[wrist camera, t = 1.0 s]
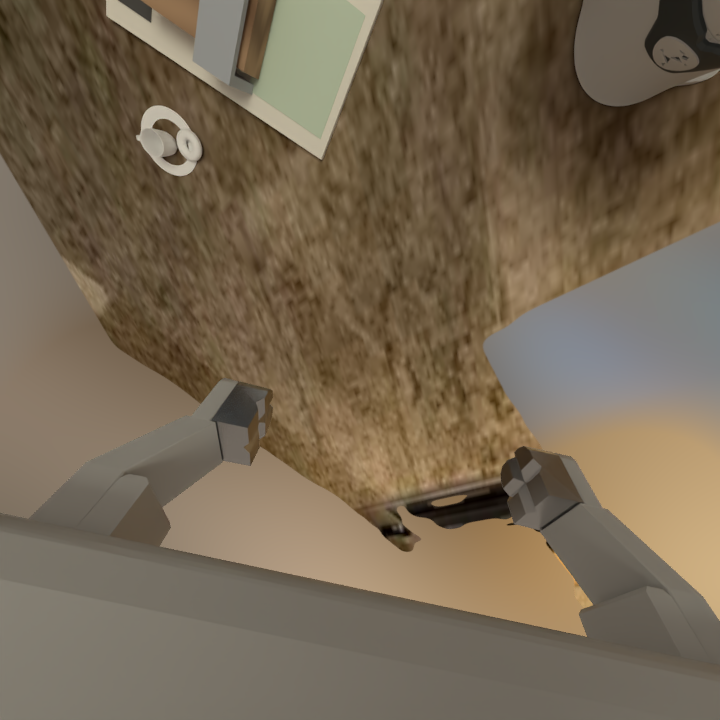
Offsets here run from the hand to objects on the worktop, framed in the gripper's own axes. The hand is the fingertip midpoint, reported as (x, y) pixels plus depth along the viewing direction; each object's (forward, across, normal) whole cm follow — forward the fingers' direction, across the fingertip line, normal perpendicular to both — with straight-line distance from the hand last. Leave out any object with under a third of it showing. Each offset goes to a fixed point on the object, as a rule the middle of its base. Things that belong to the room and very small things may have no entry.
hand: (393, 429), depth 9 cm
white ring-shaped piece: (+42, +33, +1) cm, 53 cm away
